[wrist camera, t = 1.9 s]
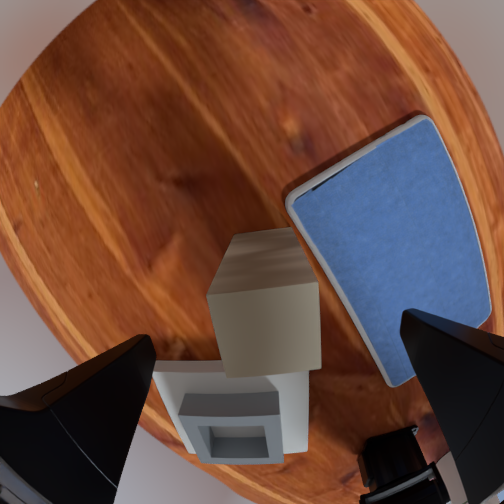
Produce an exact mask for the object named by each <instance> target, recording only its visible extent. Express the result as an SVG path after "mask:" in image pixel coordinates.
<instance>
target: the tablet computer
mask: <svg viewBox="0 0 504 504" xmlns="http://www.w3.org/2000/svg"><path fill="white" fill-rule="evenodd" d="M285 207H286V210H287V213H288V214H289V216H290V217H291V219H292V221H293V222H294V224H295V225H296V227H297V228H298V230H299V232H300V233H301V235H302V236H303V238H304V240H305V241H306V243H307V244H308V246H309V247H310V249H311V251H312V252H313V254H314V256H315V257H316V259H317V260H318V262H319V264H320V265H321V267H322V269H323V270H324V272H325V274H326V275H327V277H328V279H329V280H330V282H331V284H332V286H333V287H334V289H335V291H336V292H337V294H338V296H339V297H340V299H341V301H342V303H343V304H344V306H345V308H346V310H347V312H348V313H349V315H350V317H351V319H352V320H353V322H354V324H355V326H356V328H357V329H358V331H359V333H360V335H361V337H362V338H363V340H364V342H365V344H366V346H367V348H368V349H369V351H370V353H371V355H372V357H373V359H374V360H375V362H376V364H377V366H378V368H379V370H380V372H381V374H382V376H383V378H384V380H385V382H386V384H387V385H388V386H389V387H397V386H400V385H401V384H403V383H404V382H406V381H408V380H409V379H411V378H412V377H414V376H415V375H416V374H415V372H414V370H413V368H412V365H411V363H410V360H409V357H408V355H407V352H406V349H405V347H404V344H403V342H402V339H401V337H400V324H401V317H402V312H403V311H404V310H405V309H410V308H415V309H418V310H421V311H424V312H427V313H430V314H434V315H437V316H440V317H443V318H446V319H449V320H452V321H455V322H458V323H461V324H464V325H467V326H470V327H474V328H478V327H479V326H480V325H481V324H482V323H483V322H484V321H486V320H487V318H488V317H489V315H490V313H491V309H492V307H491V299H490V292H489V286H488V280H487V274H486V269H485V264H484V259H483V254H482V250H481V246H480V242H479V238H478V234H477V230H476V227H475V223H474V220H473V216H472V213H471V210H470V207H469V204H468V201H467V198H466V195H465V192H464V189H463V186H462V184H461V181H460V179H459V176H458V173H457V171H456V168H455V166H454V164H453V162H452V159H451V157H450V155H449V153H448V150H447V148H446V146H445V144H444V142H443V139H442V137H441V135H440V133H439V131H438V129H437V127H436V126H435V124H434V122H433V120H432V119H431V118H429V117H428V116H426V115H418V116H415V117H414V118H412V119H410V120H409V121H407V122H406V123H405V124H403V125H400V126H398V127H396V128H395V129H393V130H391V131H390V132H388V133H386V134H385V135H383V136H382V137H380V138H378V139H376V140H375V141H373V142H371V143H369V144H368V145H366V146H364V147H363V148H361V149H359V150H358V151H356V152H354V153H353V154H351V155H350V156H348V157H346V158H345V159H343V160H341V161H340V162H338V163H336V164H335V165H333V166H331V167H330V168H328V169H327V170H325V171H323V172H322V173H320V174H318V175H317V176H315V177H313V178H312V179H310V180H308V181H307V182H305V183H304V184H302V185H300V186H299V187H297V188H295V189H294V190H292V191H291V192H290V193H289V194H288V196H287V197H286V199H285Z"/></svg>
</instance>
